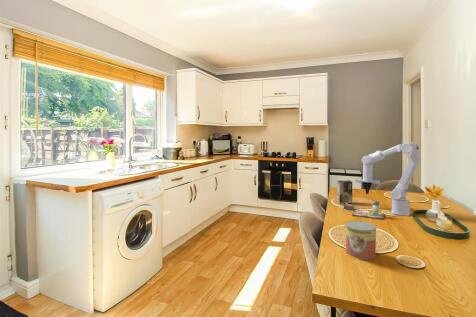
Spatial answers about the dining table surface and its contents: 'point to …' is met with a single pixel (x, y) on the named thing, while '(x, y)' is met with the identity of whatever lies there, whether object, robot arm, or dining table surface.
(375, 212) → the sage marker
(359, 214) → the colouring board
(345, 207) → the button housing
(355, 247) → the canned food
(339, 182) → the coffee box
